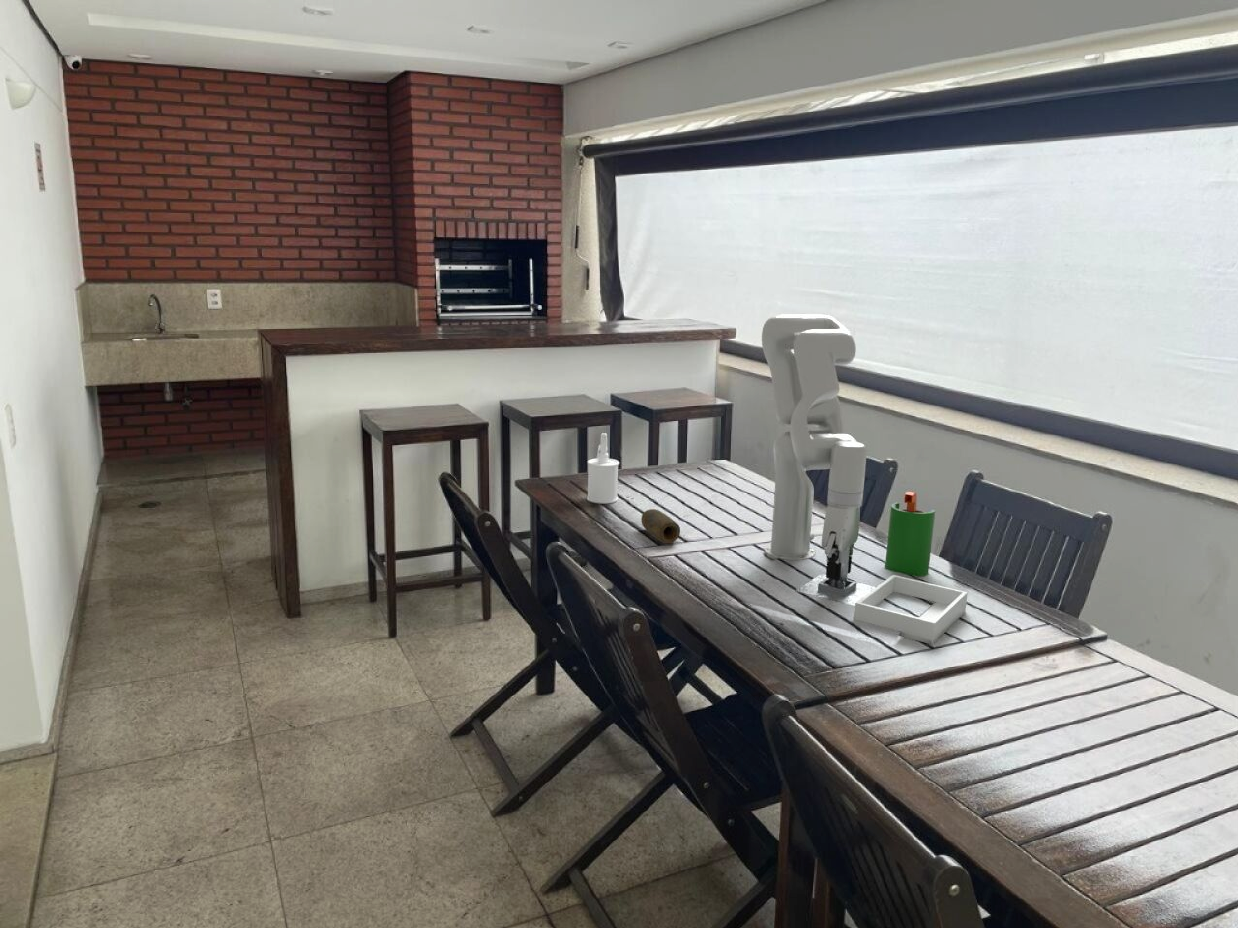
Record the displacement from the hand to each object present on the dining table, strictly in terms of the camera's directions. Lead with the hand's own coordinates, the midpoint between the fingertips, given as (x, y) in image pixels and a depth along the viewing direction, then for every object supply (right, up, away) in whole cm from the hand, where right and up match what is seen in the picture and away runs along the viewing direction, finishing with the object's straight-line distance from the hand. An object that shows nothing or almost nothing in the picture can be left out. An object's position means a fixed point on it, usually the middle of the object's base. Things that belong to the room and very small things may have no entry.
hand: (838, 574), depth 217 cm
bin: (+13, -8, -11) cm, 19 cm away
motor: (+20, -1, +17) cm, 26 cm away
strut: (0, -3, +1) cm, 3 cm away
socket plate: (0, -4, +1) cm, 4 cm away
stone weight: (-38, +5, +37) cm, 54 cm away
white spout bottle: (-54, +14, +71) cm, 90 cm away
